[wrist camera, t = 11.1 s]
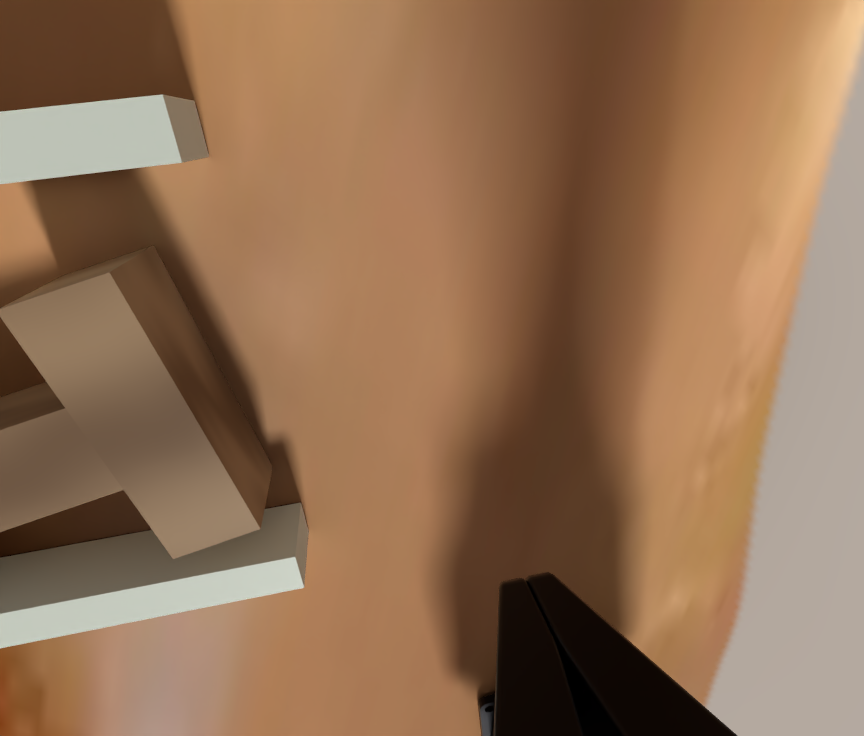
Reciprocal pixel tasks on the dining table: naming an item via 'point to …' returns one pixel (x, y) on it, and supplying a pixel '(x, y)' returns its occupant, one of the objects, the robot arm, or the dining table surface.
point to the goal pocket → (143, 552)
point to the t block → (127, 410)
